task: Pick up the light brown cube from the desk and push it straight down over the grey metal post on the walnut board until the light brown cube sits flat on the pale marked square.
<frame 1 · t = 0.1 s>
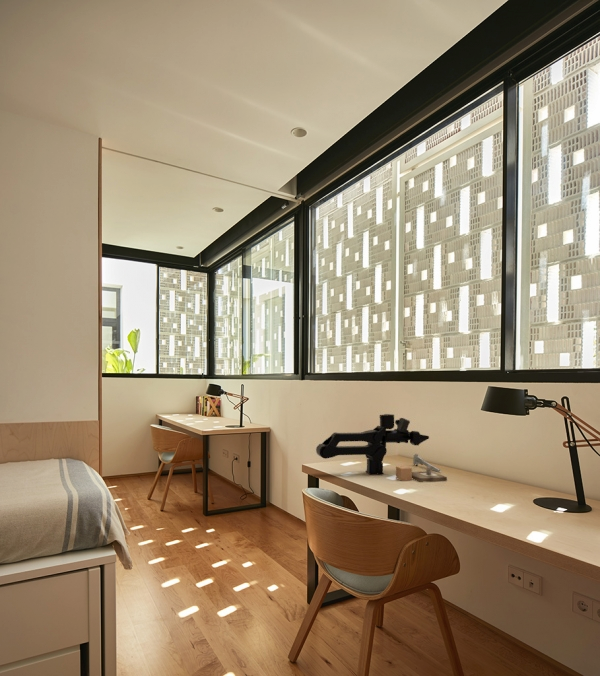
hand: (424, 436, 220), 17 cm above the table, tool horizontal, fingers open, 9 cm apart
caliper: (426, 469, 225), on the table
light brown cube: (403, 479, 201), on the table
post board: (425, 478, 203), on the table
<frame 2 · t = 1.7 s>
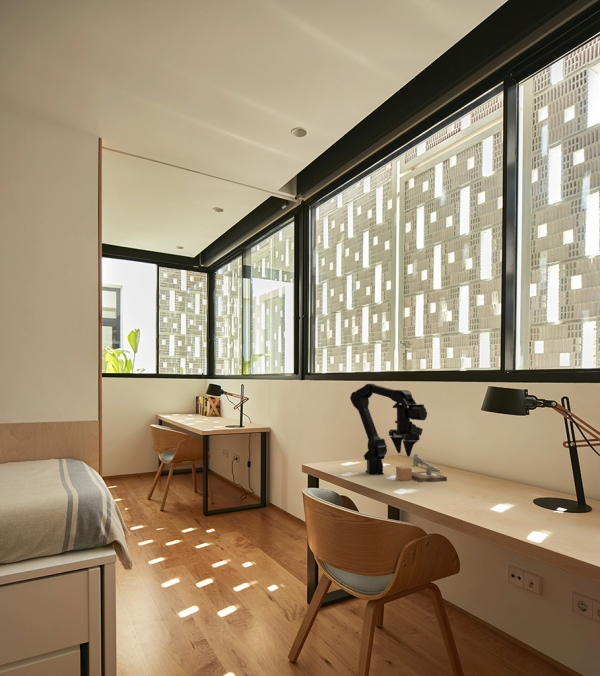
hand: (403, 454, 202), 10 cm above the table, tool pointing down, fingers open, 9 cm apart
nothing on the table moved.
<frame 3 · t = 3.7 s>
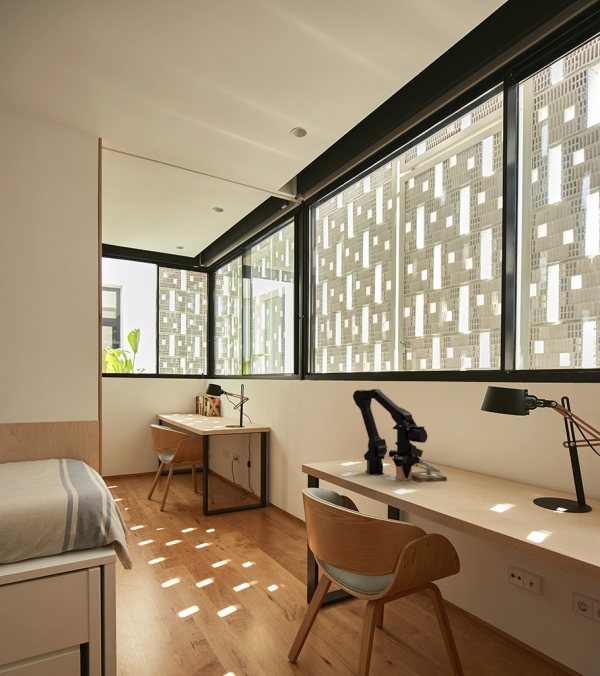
hand: (403, 476, 201), 1 cm above the table, tool pointing down, fingers closed on light brown cube, 5 cm apart
light brown cube: (403, 479, 201), on the table, touching gripper
everything else where it was.
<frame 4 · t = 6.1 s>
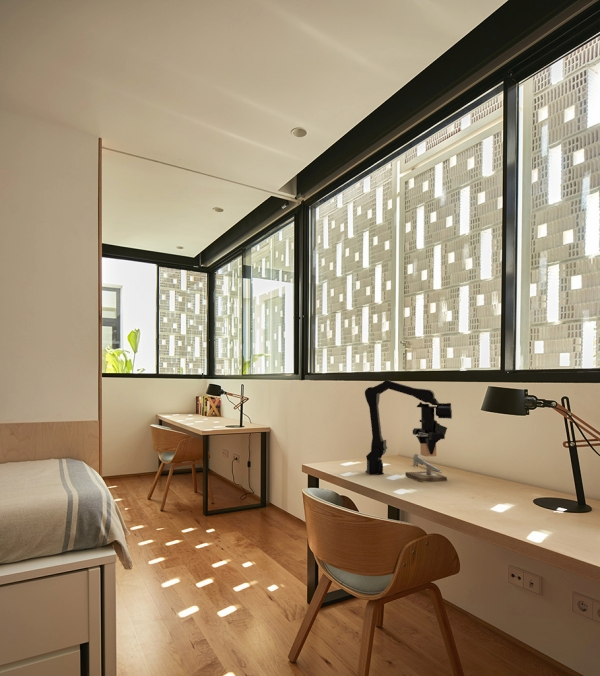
hand: (428, 453, 204), 11 cm above the table, tool pointing down, fingers closed on light brown cube, 5 cm apart
light brown cube: (428, 455, 204), point 10 cm above the table, touching gripper
everything else where it was.
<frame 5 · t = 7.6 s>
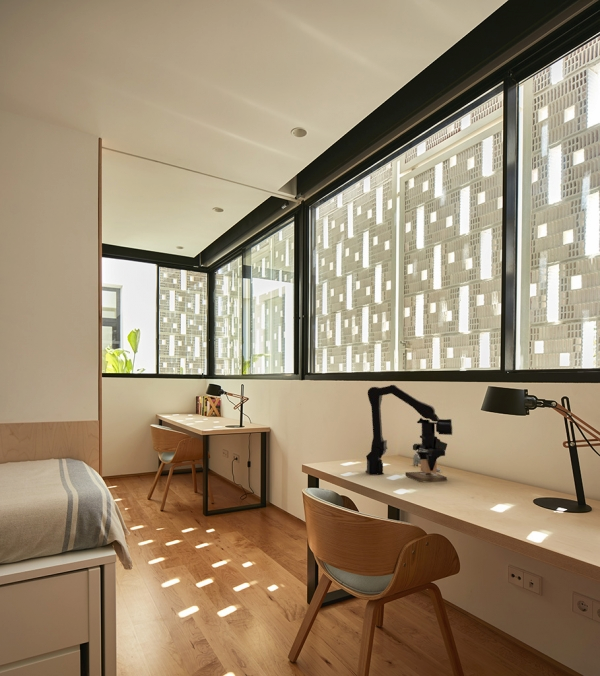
hand: (428, 469, 204), 4 cm above the table, tool pointing down, fingers closed on light brown cube, 5 cm apart
light brown cube: (428, 471, 204), point 3 cm above the table, touching gripper
everything else where it was.
when the fingers open (3 cm above the table, at t = 8.7 s): light brown cube stays where it is, resting on post board.
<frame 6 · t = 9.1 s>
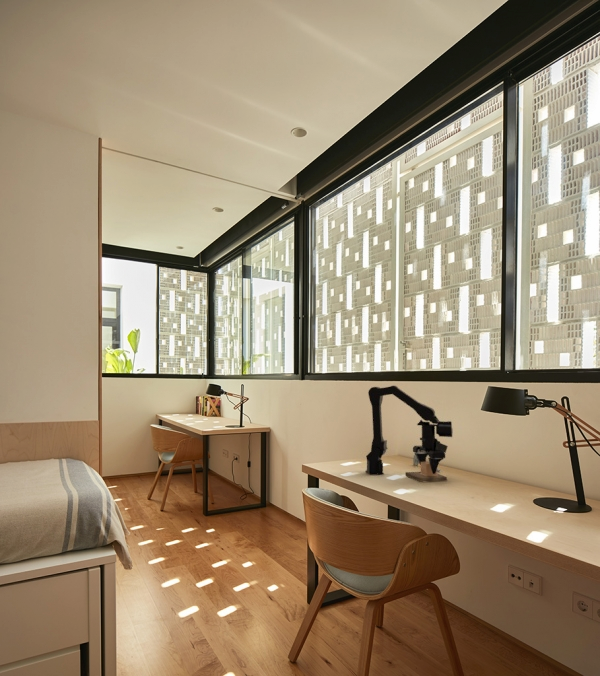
hand: (428, 471, 204), 3 cm above the table, tool pointing down, fingers open, 9 cm apart
light brown cube: (428, 474, 204), point 2 cm above the table, touching post board
everything else where it was.
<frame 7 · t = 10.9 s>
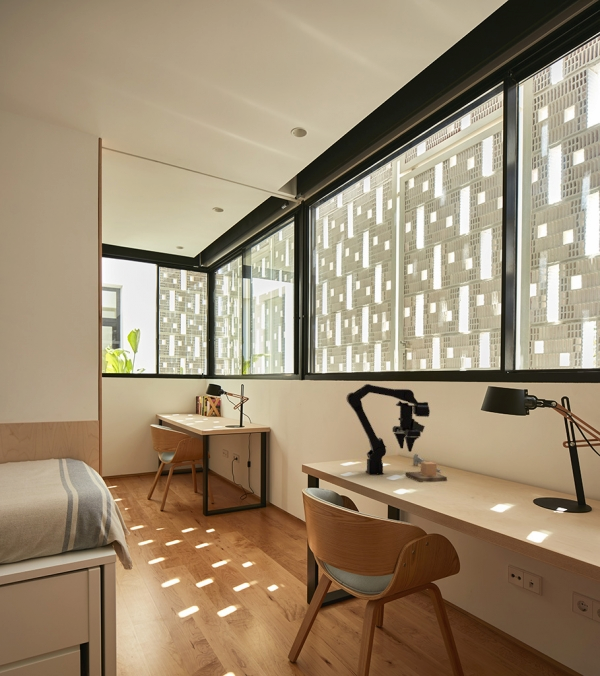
hand: (405, 450, 214), 11 cm above the table, tool pointing down, fingers open, 9 cm apart
nothing on the table moved.
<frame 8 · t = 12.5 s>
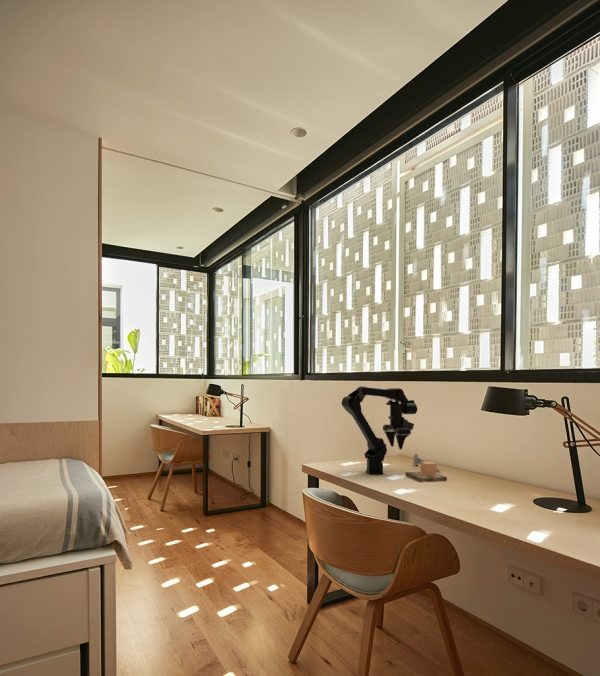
hand: (396, 447, 218), 11 cm above the table, tool pointing down, fingers open, 9 cm apart
nothing on the table moved.
at the end: light brown cube 0.0 cm from the target spot on the post board, point 1.6 cm above the post board's base; light brown cube tilted 0°; the gripper is holding nothing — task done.
